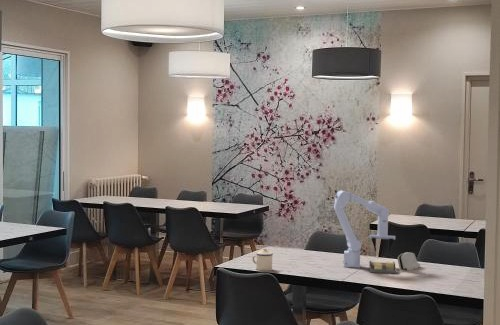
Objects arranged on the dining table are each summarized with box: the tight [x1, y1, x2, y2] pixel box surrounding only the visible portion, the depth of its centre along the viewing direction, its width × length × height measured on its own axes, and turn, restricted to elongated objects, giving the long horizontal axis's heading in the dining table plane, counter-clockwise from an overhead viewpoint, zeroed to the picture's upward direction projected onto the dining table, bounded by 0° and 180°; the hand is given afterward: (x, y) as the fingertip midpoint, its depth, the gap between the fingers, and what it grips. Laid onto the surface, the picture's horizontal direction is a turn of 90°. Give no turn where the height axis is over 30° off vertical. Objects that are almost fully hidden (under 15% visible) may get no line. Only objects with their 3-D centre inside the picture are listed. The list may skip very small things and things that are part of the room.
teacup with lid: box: [251, 247, 273, 272], centre depth 371 cm, size 12×9×12 cm
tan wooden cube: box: [385, 262, 394, 270], centre depth 373 cm, size 4×4×4 cm
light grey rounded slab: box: [397, 251, 421, 271], centre depth 384 cm, size 17×5×10 cm, turn 140°
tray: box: [369, 266, 397, 275], centre depth 371 cm, size 14×10×2 cm
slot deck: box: [368, 260, 396, 269], centre depth 381 cm, size 14×9×3 cm, turn 81°
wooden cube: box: [374, 262, 382, 269], centre depth 369 cm, size 4×4×4 cm
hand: (381, 251), depth 387 cm, fingers open, 7 cm apart
